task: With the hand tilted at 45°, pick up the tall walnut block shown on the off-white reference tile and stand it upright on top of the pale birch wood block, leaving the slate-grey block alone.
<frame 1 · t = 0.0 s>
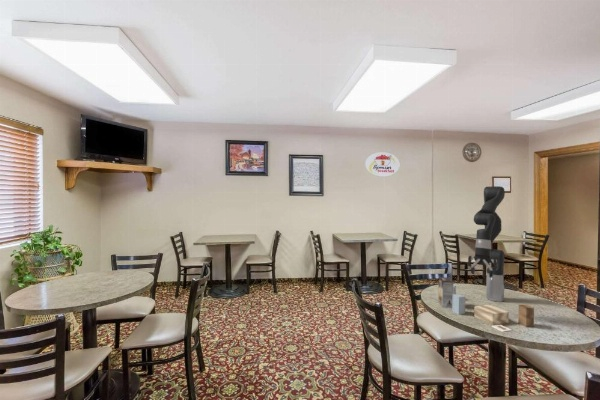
hand: (481, 275, 161), 22 cm above the table, tool pointing down, fingers open, 8 cm apart
slate block: (458, 312, 163), on the table
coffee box: (445, 305, 175), on the table
birch block: (490, 319, 155), on the table
medicine box: (448, 298, 188), on the table
reference tile: (501, 328, 144), on the table
walnut block: (526, 324, 148), on the table
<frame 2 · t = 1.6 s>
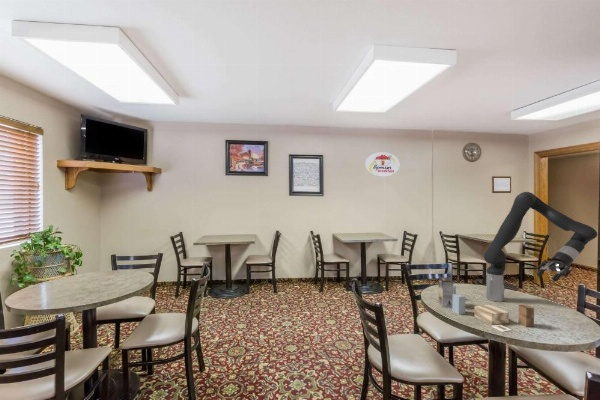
hand: (545, 277, 149), 25 cm above the table, tool tilted 45°, fingers open, 8 cm apart
nothing on the table moved.
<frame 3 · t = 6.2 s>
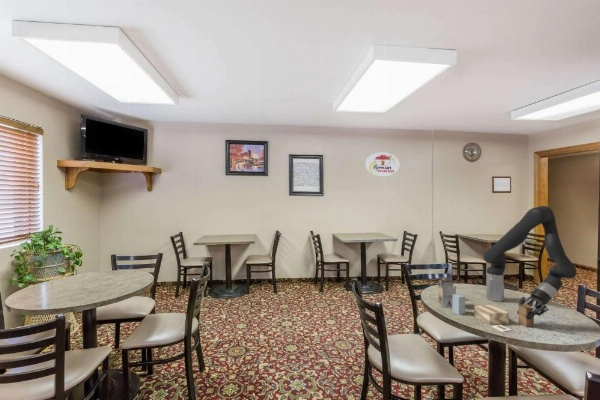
hand: (522, 316, 148), 5 cm above the table, tool tilted 45°, fingers closed on walnut block, 4 cm apart
walnut block: (526, 324, 148), on the table, touching gripper
everything else where it was.
when the fingers open (12 cm above the table, at t = 12.3 s): walnut block drops 2 cm, resting on birch block.
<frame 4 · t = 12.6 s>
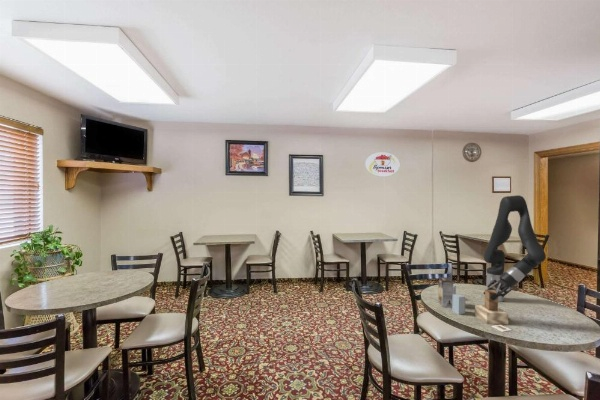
hand: (488, 296, 155), 12 cm above the table, tool tilted 45°, fingers open, 6 cm apart
birch block: (490, 320, 155), on the table, touching walnut block
walnut block: (491, 309, 155), point 6 cm above the table, touching birch block
everything else where it was.
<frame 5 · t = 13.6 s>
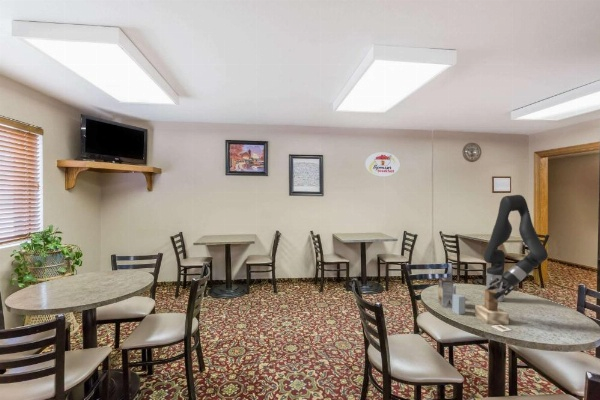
hand: (490, 295, 155), 13 cm above the table, tool tilted 45°, fingers open, 8 cm apart
birch block: (491, 320, 154), on the table
walnut block: (490, 309, 155), point 6 cm above the table
everything else where it was.
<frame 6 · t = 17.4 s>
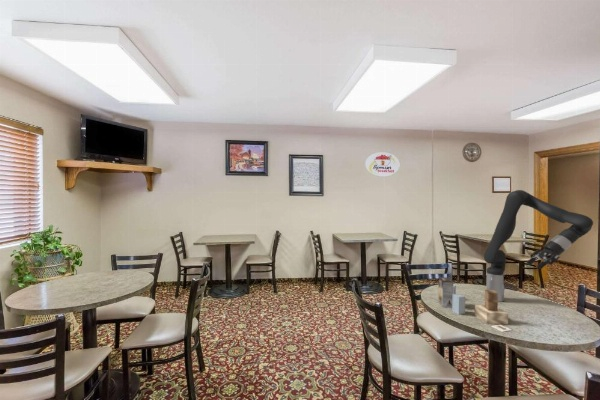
hand: (533, 265, 151), 31 cm above the table, tool tilted 45°, fingers open, 8 cm apart
nothing on the table moved.
at the end: walnut block inside the target area on the birch block (0.2 cm from its centre), point 6.0 cm above the birch block's base; walnut block tilted 1°; the gripper is holding nothing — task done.
